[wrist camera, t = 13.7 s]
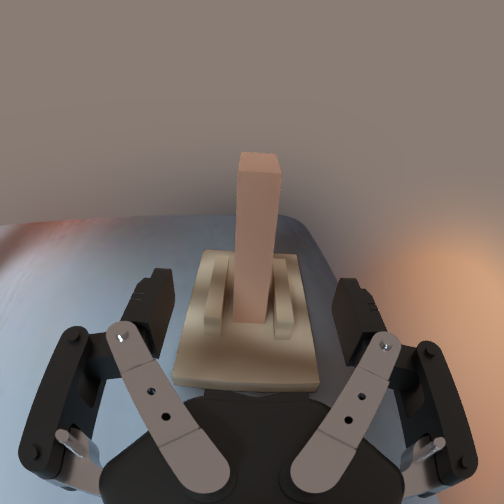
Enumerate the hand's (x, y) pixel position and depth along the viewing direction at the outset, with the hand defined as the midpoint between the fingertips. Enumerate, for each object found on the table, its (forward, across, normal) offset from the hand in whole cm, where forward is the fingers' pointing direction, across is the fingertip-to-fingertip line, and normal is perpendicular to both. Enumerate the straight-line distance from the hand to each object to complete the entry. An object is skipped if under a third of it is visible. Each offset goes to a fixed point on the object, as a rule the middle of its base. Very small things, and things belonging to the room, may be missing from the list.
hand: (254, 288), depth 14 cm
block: (+8, 0, +8) cm, 11 cm away
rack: (+8, 0, +9) cm, 12 cm away
